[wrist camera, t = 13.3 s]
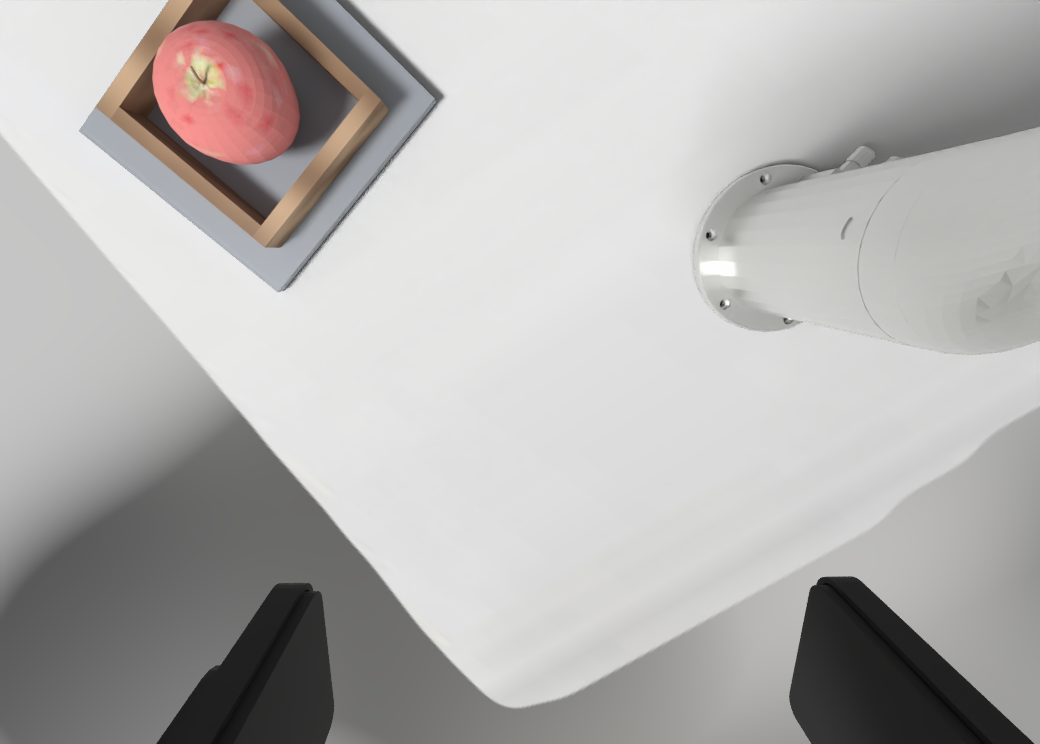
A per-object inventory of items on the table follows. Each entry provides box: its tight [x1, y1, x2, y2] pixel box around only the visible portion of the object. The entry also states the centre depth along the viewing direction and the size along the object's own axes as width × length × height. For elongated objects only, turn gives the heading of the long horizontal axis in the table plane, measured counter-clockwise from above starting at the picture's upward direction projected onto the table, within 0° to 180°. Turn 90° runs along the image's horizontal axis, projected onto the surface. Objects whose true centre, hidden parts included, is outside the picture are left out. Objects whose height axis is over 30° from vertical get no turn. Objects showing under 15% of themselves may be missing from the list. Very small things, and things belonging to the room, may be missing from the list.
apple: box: [152, 20, 300, 165], centre depth 29 cm, size 7×7×8 cm
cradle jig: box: [79, 0, 436, 292], centre depth 32 cm, size 18×16×4 cm
